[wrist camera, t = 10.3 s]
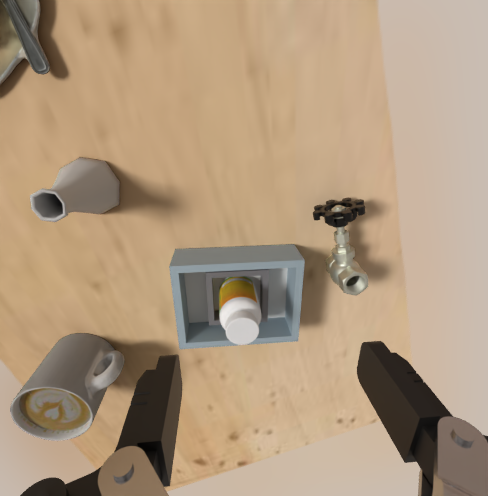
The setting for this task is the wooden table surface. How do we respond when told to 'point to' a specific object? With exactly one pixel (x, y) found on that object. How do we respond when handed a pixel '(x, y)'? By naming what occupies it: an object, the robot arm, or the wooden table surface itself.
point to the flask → (78, 191)
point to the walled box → (236, 265)
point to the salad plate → (20, 37)
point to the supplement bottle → (239, 309)
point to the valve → (343, 245)
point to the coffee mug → (67, 388)
